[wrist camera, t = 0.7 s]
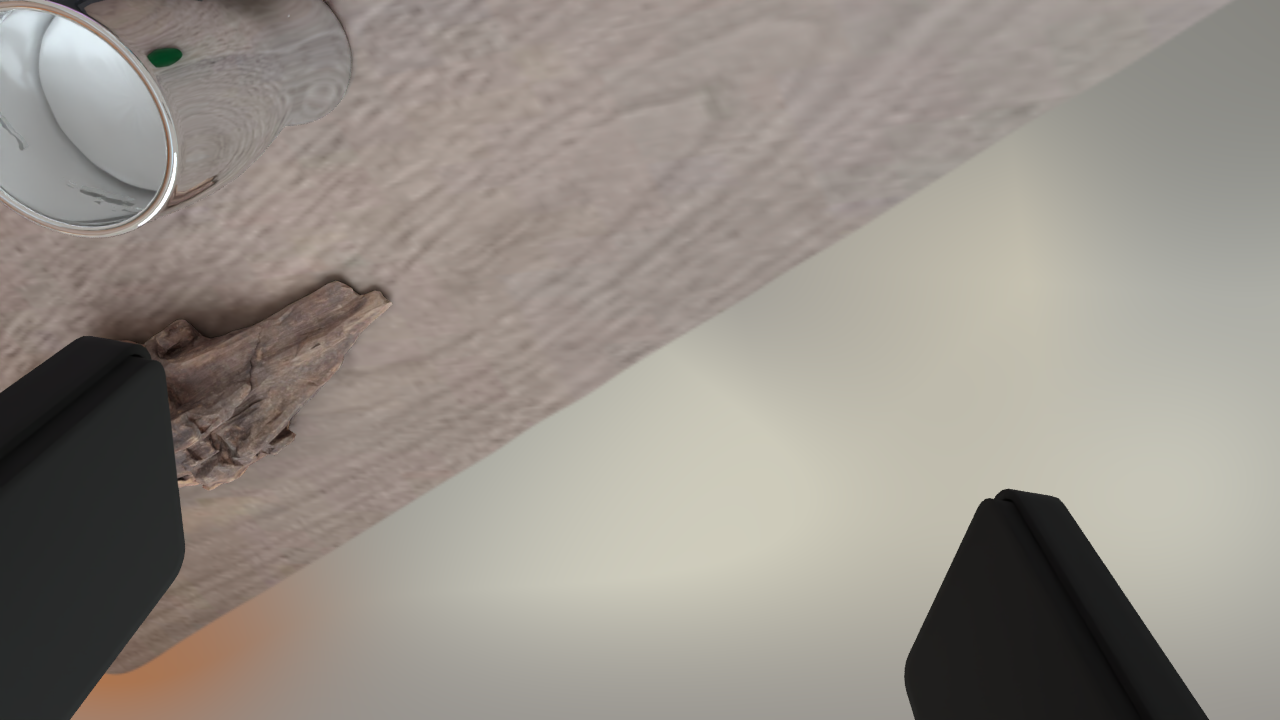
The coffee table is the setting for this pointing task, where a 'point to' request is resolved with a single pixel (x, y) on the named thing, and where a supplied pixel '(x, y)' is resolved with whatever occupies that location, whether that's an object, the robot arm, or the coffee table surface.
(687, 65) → the coffee table surface
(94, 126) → the beer glass
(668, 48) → the coffee table surface
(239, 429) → the brown driftwood piece
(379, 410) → the coffee table surface
